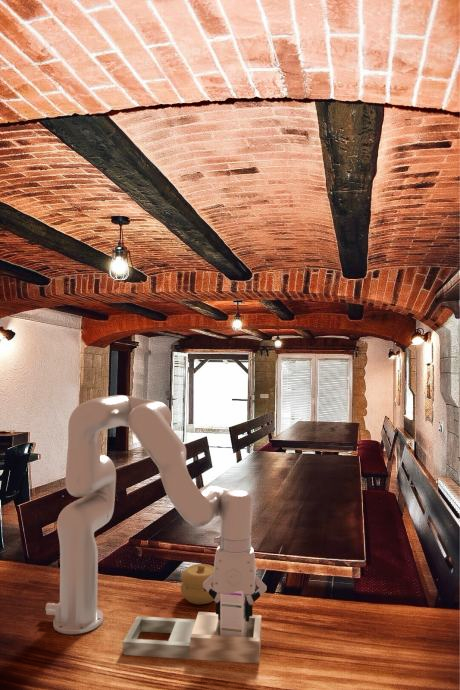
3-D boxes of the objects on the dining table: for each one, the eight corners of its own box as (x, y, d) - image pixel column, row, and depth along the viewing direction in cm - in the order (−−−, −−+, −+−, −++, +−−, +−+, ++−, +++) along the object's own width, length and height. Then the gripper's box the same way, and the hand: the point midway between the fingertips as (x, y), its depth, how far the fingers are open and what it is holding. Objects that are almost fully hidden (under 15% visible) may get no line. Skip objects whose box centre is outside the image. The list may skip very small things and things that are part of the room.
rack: (122, 654, 121) (122, 633, 121) (136, 627, 133) (137, 608, 133) (259, 663, 118) (259, 641, 118) (261, 635, 130) (261, 615, 130)
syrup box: (243, 653, 121) (244, 591, 121) (218, 649, 122) (220, 588, 123) (247, 640, 127) (248, 580, 127) (223, 637, 128) (225, 578, 128)
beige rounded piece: (215, 612, 141) (215, 575, 142) (174, 607, 144) (174, 571, 144) (225, 593, 153) (226, 559, 153) (188, 588, 156) (188, 555, 156)
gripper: (197, 546, 122) (196, 623, 122) (270, 550, 120) (269, 628, 120) (202, 535, 130) (201, 607, 129) (271, 539, 128) (270, 612, 128)
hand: (234, 617), depth 125 cm, fingers closed on syrup box, 6 cm apart
